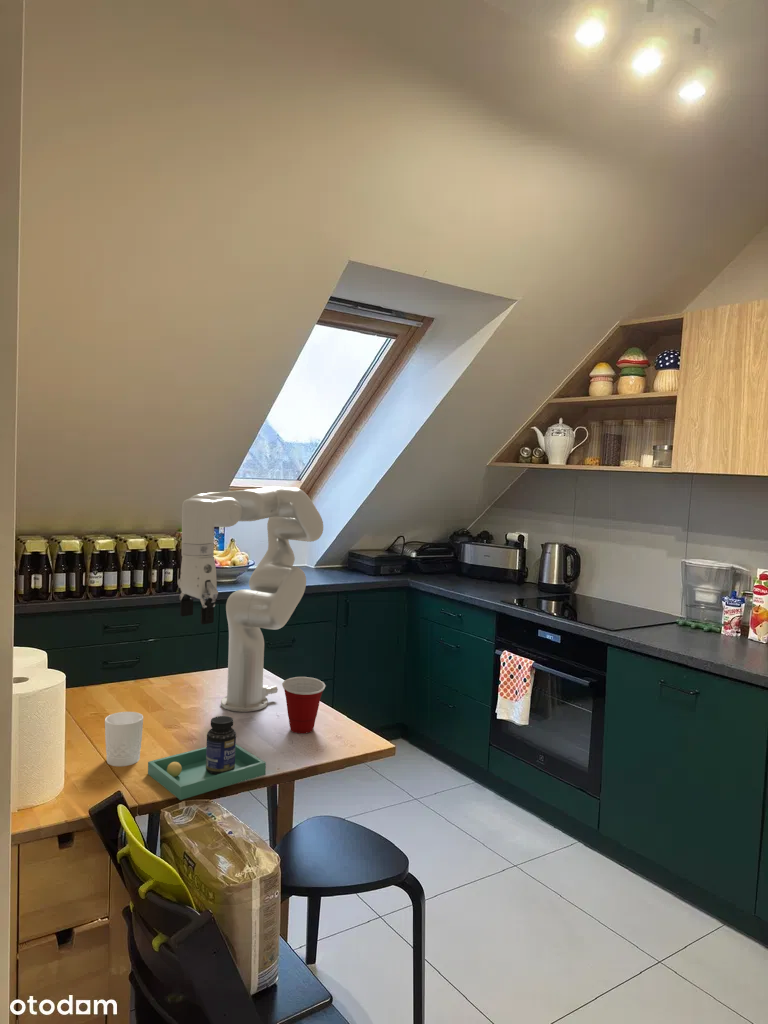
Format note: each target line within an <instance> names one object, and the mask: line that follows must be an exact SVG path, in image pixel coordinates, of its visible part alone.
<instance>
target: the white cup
mask: <svg viewBox="0 0 768 1024" xmlns="http://www.w3.org/2000/svg"><path fill="white" fill-rule="evenodd" d="M143 725H144V715H143V714H142V713H140V712H137V711H120V712H115V713H112V714H109V715H107V716H106V717H105V719H104V729H105V731H104V735H105V736H104V738H105V739H104V740H105V754H106V763H107V764H108V765H110V766H112V767H127V766H131V765H132V766H133V765H135V764H136V763H138V762H139V761H140V759H141V748H142V741H143V728H144V727H143Z"/></svg>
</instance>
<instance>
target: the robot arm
mask: <svg viewBox="0 0 768 1024" xmlns="http://www.w3.org/2000/svg"><path fill="white" fill-rule="evenodd" d="M181 506H182V507H181V564H180V578H178V579H177V586H178V593H179V600H180V610H179V611H180V614H179V615H180V616H181V617H187V616H192V615H193V614H194V598H196V599H198V600H200V603H201V606H202V607H200V624H201V625H208V624H213V623H214V621H215V619H214V616H215V606H216V603H217V600H218V599H217V598H218V595H219V591H218V588H217V587H218V586H217V585H218V584H217V583H218V581H217V568H216V561H215V556H214V553H215V552H214V551H215V549H214V548H215V547H214V545H215V527H217V528H219V527H220V528H230V527H232V526H235V525H236V524H238V523H239V522H255V521H259V520H263V519H267V543H268V545H267V550H266V552H265V554H264V555H263V557H262V558H261V560H260V561H259V563H258V564H257V566H256V567H255V569H254V570H253V572H252V574H251V576H250V577H249V581H248V587H249V589H239V590H236V591H233V592H232V593H231V594H230V595H229V596H228V598H227V600H226V603H225V611H226V612H225V613H226V619H227V624H228V625H227V627H228V653H227V654H228V657H227V658H228V659H227V661H228V662H227V664H228V665H227V685H226V689H227V690H226V691H227V693H226V696H224V697H223V698H221V700H220V705H221V708H223V709H225V710H226V711H227V710H228V711H232V712H240V713H245V712H246V713H248V712H255V711H260V710H262V709H264V708H266V707H268V704H269V699H268V698H267V696H269V695H272V694H276V693H278V687H277V685H274V686H270V687H269V685H263V684H264V663H265V662H264V661H265V660H264V659H265V658H264V657H265V639H264V635H263V632H262V630H261V629H265V630H275V631H276V630H279V629H281V628H283V627H284V626H285V625H286V624H287V622H288V621H289V620H290V618H291V616H292V615H293V613H294V612H295V610H296V607H297V606H298V604H299V603H300V602H301V600H302V598H303V596H304V595H305V594H304V593H305V591H306V586H307V576H306V574H305V571H304V570H303V569H301V568H300V567H298V566H295V565H294V564H295V559H296V558H295V557H296V556H295V554H294V553H295V552H294V551H293V549H292V546H291V544H290V542H289V541H301V542H315V541H317V540H319V539H320V538H321V537H322V535H323V531H324V521H323V518H322V515H321V513H320V512H319V511H318V509H317V508H316V506H315V504H314V502H313V501H312V499H311V498H310V496H308V494H307V493H306V492H305V491H304V490H302V489H300V488H298V487H286V486H285V487H284V486H282V487H281V486H266V487H260V488H251V489H237V490H231V491H218V492H217V491H215V492H207V493H204V492H203V493H198V494H194V495H192V496H190V498H187V499H185V500H183V502H182V505H181ZM206 599H207V600H206Z"/></svg>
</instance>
